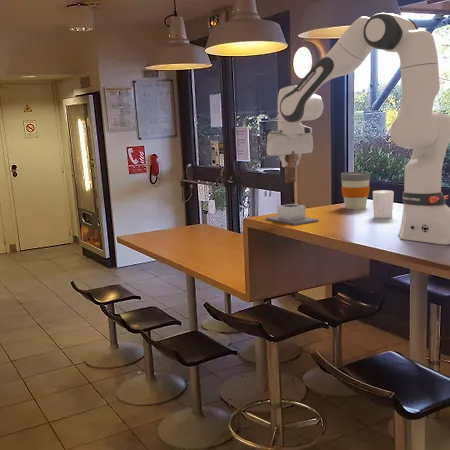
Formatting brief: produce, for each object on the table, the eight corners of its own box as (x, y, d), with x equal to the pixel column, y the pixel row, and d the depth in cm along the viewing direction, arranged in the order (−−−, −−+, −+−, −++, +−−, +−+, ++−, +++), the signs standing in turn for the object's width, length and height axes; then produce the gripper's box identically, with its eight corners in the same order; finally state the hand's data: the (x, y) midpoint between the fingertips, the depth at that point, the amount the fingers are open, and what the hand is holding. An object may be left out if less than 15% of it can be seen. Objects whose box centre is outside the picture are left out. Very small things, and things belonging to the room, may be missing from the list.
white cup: (397, 217, 214) (398, 191, 213) (380, 219, 212) (380, 193, 210) (385, 214, 222) (385, 189, 220) (368, 216, 219) (368, 191, 217)
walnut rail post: (297, 182, 214) (297, 150, 212) (289, 182, 212) (289, 151, 210) (291, 181, 218) (290, 150, 215) (283, 182, 216) (282, 151, 213)
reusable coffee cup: (342, 205, 251) (342, 172, 248) (371, 205, 247) (371, 171, 244) (339, 209, 239) (339, 174, 236) (369, 209, 235) (369, 174, 232)
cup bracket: (318, 221, 213) (318, 206, 212) (294, 225, 207) (293, 210, 206) (289, 216, 228) (289, 202, 227) (265, 219, 222) (265, 205, 221)
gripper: (272, 130, 203) (273, 168, 206) (315, 128, 214) (315, 164, 216) (262, 131, 209) (263, 167, 211) (305, 128, 219) (305, 164, 221)
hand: (290, 166), depth 214 cm, fingers closed on walnut rail post, 4 cm apart
